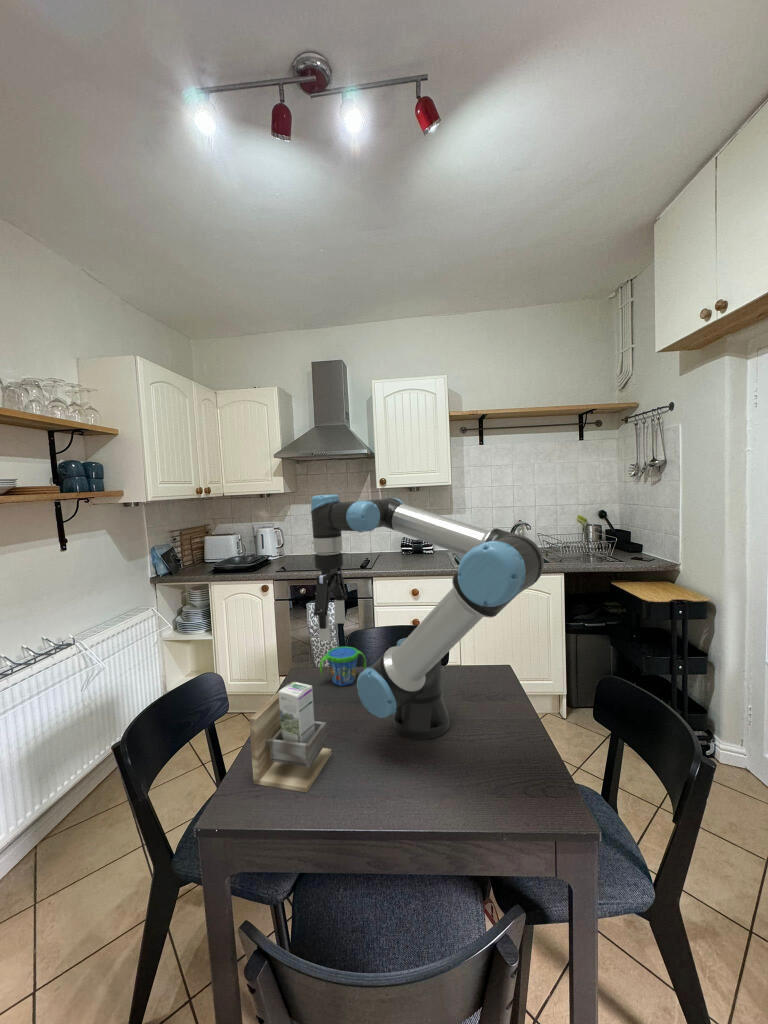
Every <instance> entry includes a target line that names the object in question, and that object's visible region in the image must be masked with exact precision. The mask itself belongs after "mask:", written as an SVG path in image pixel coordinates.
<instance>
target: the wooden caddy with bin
mask: <svg viewBox="0 0 768 1024" xmlns="http://www.w3.org/2000/svg"><path fill="white" fill-rule="evenodd" d="M281 689H282V688H281ZM281 689H279V690H278V691H277V692H276V693H274V695H273V696H272V697H271V698H270V699H269V700H268V701H267V702H266V703H264V704H263V705H262V706H261V707H260V708H259V709H258V710H257V711H256V712H255V713H254V714H253V715H252V716H251V717H250V718H248V719H249V720H248V721H249V733H250V734H249V735H250V749H251V763H252V779H253V784H254V785H260V786H266V787H271V788H277V789H282V790H283V789H284V790H288V791H289V790H290V791H296V792H301V793H308V791H309V790H310V788H311V787H312V786H313V783H314V782H315V781H316V779H317V778H318V776H319V774H320V773H321V771H322V769H323V768H324V766H325V765H326V763H327V762H328V760H329V758H330V757H331V755H332V753H333V751H332V748H325V746H326V744H327V742H328V736H327V735H328V734H327V733H328V732H327V722H324V721H318V720H317V721H316V720H314V725H315V733H314V735H313V736H312V737H311V739H310V740H309V741H308V743H307V744H306V743H299V742H291V741H284V740H282V735H281V719H280V705H279V691H280V690H281Z"/></svg>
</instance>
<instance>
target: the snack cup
mask: <svg viewBox="0 0 768 1024" xmlns="http://www.w3.org/2000/svg"><path fill="white" fill-rule="evenodd" d="M359 655H361V656H362V657H363V661H362V662H363V664H362V668H363V670H364V669H366V668H367V659H366V656H365V655H364V653H363V652H362V651H360V650H358V649H357V648H356V647H352V646H338V647H334V648H332V649H329V650H328V651H327V652H326V654H325V655H324V656H322V658H321V660H320V663H319V673H320V675H321V677H323V676H324V674H323V663H324V662H325V661H326V660H328V666H329V671H330V676H331V680H332V684H334V685H335V686H340V687H343V686H348V685H352V684H353V683H354V682H355V680H356V675H357V674H356V673H357V666H358V665H357V664H358V658H359Z"/></svg>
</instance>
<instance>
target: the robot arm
mask: <svg viewBox="0 0 768 1024" xmlns="http://www.w3.org/2000/svg"><path fill="white" fill-rule="evenodd" d="M310 508H311V509H310V514H311V524H312V525H311V526H312V538H313V540H311V544H312V545H313V552H314V553H316V554H314V556H313V557H314V568H315V569H317V570H320V572H321V575H316V586H315V588H316V589H315V599H314V607H313V608H314V610H313V615H314V616H315V617H317V624H318V640H319V641H323V642H324V641H326V642H327V641H331V627H330V626H331V625H330V614H329V613H328V612H329V606H330V602H331V601H330V600H331V599H330V598H331V594H333V597H334V600H333V603H334V619H335V624H346V613H345V612H346V610H345V600H348V595H347V590H346V586H345V582H344V578H343V574H342V572H343V571H342V567H343V566H344V556H343V553H342V551H343V539H342V538H343V537H342V532H357V533H365V532H372V531H374V530H375V529H377V528H378V529H379V528H387V529H389V530H392V531H395V532H397V533H401V534H403V535H407V536H409V537H412V538H414V539H417V540H421V541H423V542H425V543H429V544H431V545H433V546H436V547H439V548H442V549H445V550H448V551H450V552H452V553H455V554H458V555H461V556H463V557H462V558H461V560H460V562H459V564H458V568H457V571H456V572H455V574H454V575H453V576H452V578H451V579H452V580H451V583H452V587H451V589H450V590H449V591H448V592H447V593H446V594H445V596H444V597H443V598H442V599H441V600H440V601H439V602H438V603H437V604H436V605H435V607H434V608H432V609H431V611H430V612H429V613H428V614H427V615H426V616H425V617H424V619H423V620H422V621H421V622H420V623H419V624H418V625H417V627H415V628H414V629H413V631H411V633H410V634H409V635H408V636H407V637H404V638H401V639H398V640H397V642H396V646H391V647H389V648H388V649H387V650H386V651H385V652H384V653H383V654H382V655H381V657H380V658H378V660H376V662H375V663H374V664H372V665H371V666H370V667H366V668H365V669H364V668H363V671H361V672H360V673H359V674H358V677H357V679H356V688H357V694H358V697H359V700H360V702H361V703H362V705H363V707H364V708H365V709H366V710H367V711H368V712H369V713H370V714H371V715H373V716H376V717H377V718H380V719H385V718H388V717H390V716H392V719H393V729H394V730H395V732H397V733H398V734H399V735H401V736H403V737H404V738H408V739H413V740H420V741H421V740H422V741H423V740H432V739H436V738H438V737H441V736H442V735H444V734H445V733H447V731H448V730H449V728H450V715H449V712H448V708H447V707H446V703H445V700H444V698H443V693H442V692H443V691H442V690H443V689H442V686H443V685H442V684H443V683H442V659H443V658H444V657H445V656H446V655H447V654H448V653H449V652H450V651H451V650H452V649H453V648H454V647H455V646H456V644H458V643H459V642H460V641H461V640H462V639H463V638H464V637H465V636H467V633H469V632H470V631H471V630H472V629H473V628H474V627H475V626H476V625H477V624H478V623H479V622H480V621H481V620H482V619H483V618H494V617H496V616H497V615H498V614H499V613H500V612H501V611H502V610H504V609H505V608H506V607H507V606H508V605H509V603H511V602H512V601H513V600H514V599H515V598H516V597H517V596H518V595H520V593H522V592H524V591H525V590H527V589H529V588H530V587H532V586H533V585H534V584H536V582H538V581H539V579H540V578H541V576H542V574H543V570H544V566H545V565H544V564H545V562H544V560H545V559H544V556H543V554H542V551H541V549H540V547H539V546H538V545H537V544H536V542H534V541H533V540H532V539H530V538H529V537H526V536H525V535H521V534H517V533H515V532H510V531H507V530H503V529H500V528H492V529H490V530H489V529H486V528H481V527H478V526H475V525H472V524H469V523H465V522H463V521H460V520H456V519H453V518H451V517H450V518H449V517H446V516H443V515H440V514H437V513H434V512H430V511H427V510H424V509H421V508H418V507H414V506H411V505H407V504H405V503H404V502H403V501H402V500H401V499H399V498H397V497H386V498H378V499H367V500H357V501H356V500H355V501H340V495H338V494H319V495H314V496H312V497H311V501H310Z"/></svg>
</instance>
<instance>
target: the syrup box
mask: <svg viewBox="0 0 768 1024" xmlns="http://www.w3.org/2000/svg"><path fill="white" fill-rule="evenodd" d="M279 690H280V689H279ZM279 690H278V691H279ZM279 705H280V719H281V735H282V740H284V741H291V742H299V743H306V744H307V743H308V741H309V740H310V739H311V737H312V736H313V735H314V733H315V725H314V721H315V709H314V694H313V685H311V684H306V683H302V682H297V681H291V682H290V683H287V684H286V685H285V686H284V687H283V688H281V690H280V691H279Z"/></svg>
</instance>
